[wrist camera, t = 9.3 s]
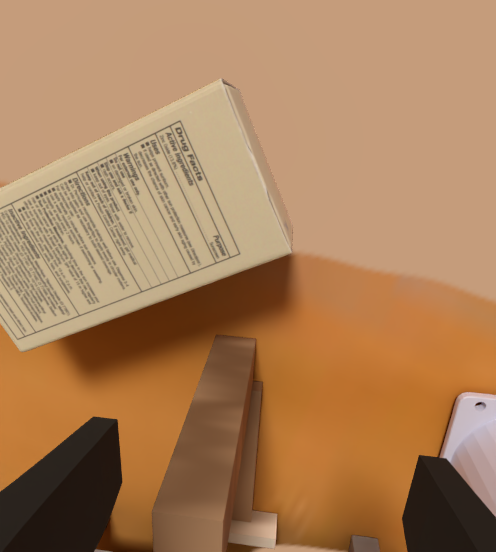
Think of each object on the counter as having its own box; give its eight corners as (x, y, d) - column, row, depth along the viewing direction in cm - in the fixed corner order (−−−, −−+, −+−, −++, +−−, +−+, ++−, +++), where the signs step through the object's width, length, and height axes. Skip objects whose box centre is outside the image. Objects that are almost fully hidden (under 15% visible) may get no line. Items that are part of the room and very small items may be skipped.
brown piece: (296, 342, 20) (296, 531, 11) (276, 523, 25) (264, 763, 16) (177, 330, 21) (82, 501, 12) (178, 509, 26) (111, 734, 16)
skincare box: (69, 312, 21) (297, 231, 18) (16, 357, 17) (297, 263, 14) (1, 193, 19) (243, 84, 17) (-77, 213, 15) (226, 73, 13)
